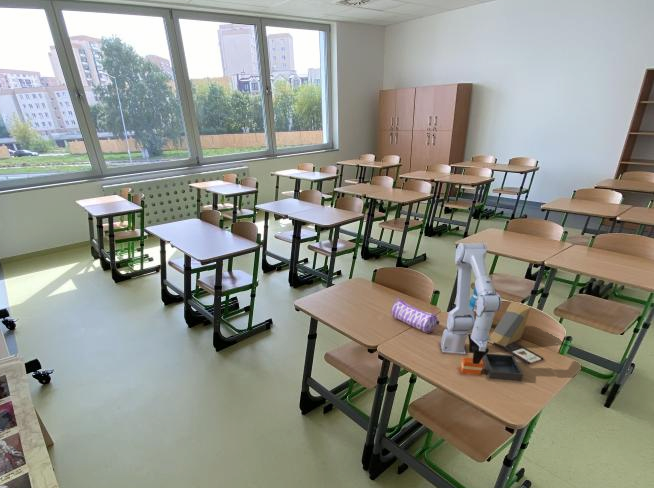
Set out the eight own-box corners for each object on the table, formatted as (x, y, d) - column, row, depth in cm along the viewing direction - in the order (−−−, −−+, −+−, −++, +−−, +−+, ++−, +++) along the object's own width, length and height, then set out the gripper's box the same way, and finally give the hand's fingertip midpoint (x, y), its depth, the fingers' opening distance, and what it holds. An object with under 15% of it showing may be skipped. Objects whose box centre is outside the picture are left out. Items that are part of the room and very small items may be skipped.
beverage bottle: (459, 326, 186) (468, 286, 175) (471, 322, 190) (481, 283, 179) (472, 334, 180) (483, 293, 169) (485, 330, 183) (496, 289, 173)
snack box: (461, 373, 153) (464, 362, 150) (460, 368, 156) (462, 357, 153) (480, 375, 152) (483, 363, 149) (478, 370, 155) (481, 358, 152)
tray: (488, 379, 150) (490, 371, 148) (481, 360, 161) (483, 352, 160) (520, 382, 149) (523, 374, 147) (511, 362, 160) (513, 355, 158)
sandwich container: (485, 341, 174) (493, 309, 167) (503, 331, 183) (511, 301, 175) (504, 348, 169) (513, 316, 161) (521, 338, 177) (530, 307, 169)
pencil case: (438, 330, 182) (441, 311, 177) (426, 336, 177) (430, 317, 172) (399, 314, 196) (402, 296, 191) (388, 319, 191) (390, 301, 186)
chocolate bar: (507, 338, 175) (543, 357, 162) (507, 340, 176) (542, 359, 162) (493, 342, 172) (528, 363, 158) (492, 344, 172) (527, 365, 159)
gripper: (498, 336, 137) (488, 369, 144) (489, 318, 149) (480, 348, 156) (477, 335, 137) (468, 367, 145) (470, 316, 149) (462, 347, 157)
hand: (473, 357), depth 150 cm, fingers open, 7 cm apart
